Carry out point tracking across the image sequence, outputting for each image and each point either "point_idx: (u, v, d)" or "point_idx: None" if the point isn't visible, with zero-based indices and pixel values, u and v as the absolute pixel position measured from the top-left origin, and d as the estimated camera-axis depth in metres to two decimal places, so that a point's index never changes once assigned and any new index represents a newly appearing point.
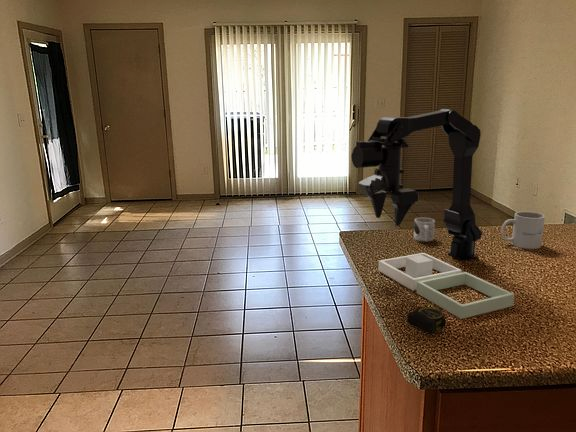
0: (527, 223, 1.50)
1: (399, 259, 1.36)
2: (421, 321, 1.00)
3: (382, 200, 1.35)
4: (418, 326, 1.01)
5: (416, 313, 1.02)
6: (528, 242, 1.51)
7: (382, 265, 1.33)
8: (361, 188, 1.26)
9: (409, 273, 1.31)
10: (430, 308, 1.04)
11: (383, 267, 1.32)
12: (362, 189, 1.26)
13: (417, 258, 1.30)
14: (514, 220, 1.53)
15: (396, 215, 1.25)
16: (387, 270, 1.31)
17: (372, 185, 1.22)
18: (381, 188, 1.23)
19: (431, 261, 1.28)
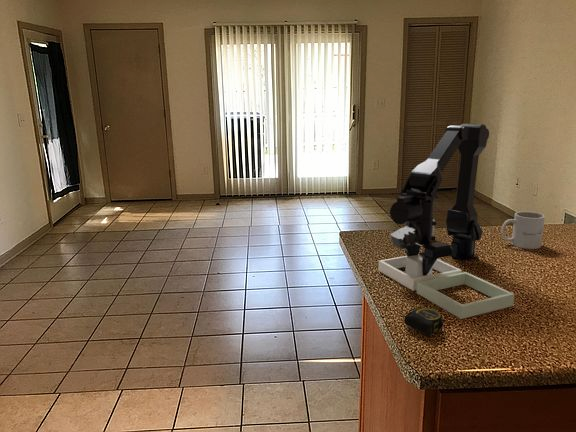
0: (527, 223, 1.50)
1: (399, 259, 1.36)
2: (418, 322, 0.99)
3: (416, 251, 1.33)
4: (415, 327, 1.00)
5: (413, 314, 1.01)
6: (528, 242, 1.51)
7: (382, 265, 1.33)
8: (393, 240, 1.26)
9: (409, 273, 1.31)
10: (428, 309, 1.03)
11: (383, 267, 1.32)
12: (394, 241, 1.26)
13: (417, 258, 1.30)
14: (514, 220, 1.53)
15: (424, 265, 1.27)
16: (387, 270, 1.31)
17: (405, 239, 1.22)
18: (414, 242, 1.22)
19: None
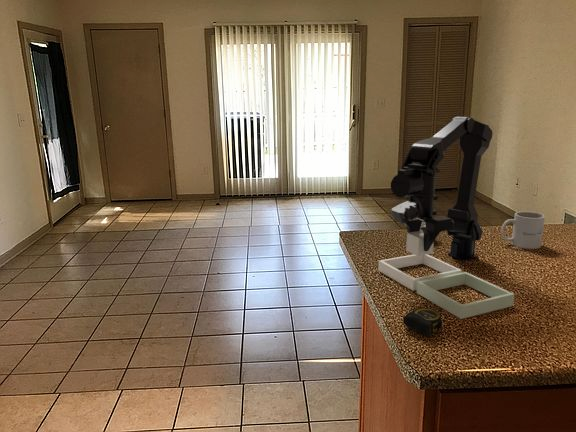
0: (527, 223, 1.50)
1: (399, 259, 1.36)
2: (417, 323, 0.99)
3: (417, 227, 1.31)
4: (414, 328, 1.00)
5: (412, 314, 1.01)
6: (528, 242, 1.51)
7: (382, 265, 1.33)
8: (394, 215, 1.24)
9: (410, 249, 1.29)
10: (427, 309, 1.03)
11: (383, 267, 1.32)
12: (395, 216, 1.24)
13: (418, 233, 1.28)
14: (514, 220, 1.53)
15: (425, 241, 1.25)
16: (387, 270, 1.31)
17: (406, 213, 1.20)
18: (415, 216, 1.21)
19: None
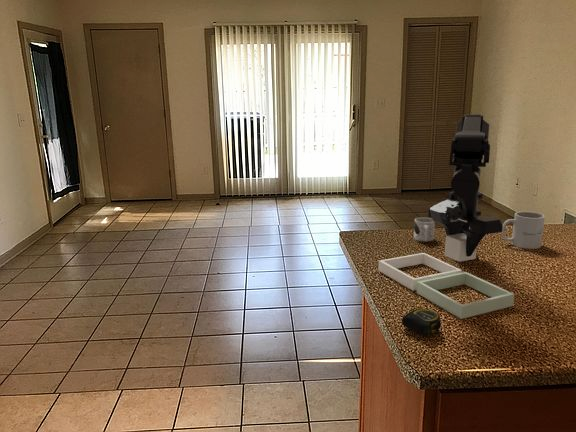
0: (527, 223, 1.50)
1: (399, 259, 1.36)
2: (416, 324, 0.99)
3: (457, 229, 1.16)
4: (413, 328, 1.00)
5: (411, 315, 1.01)
6: (528, 242, 1.51)
7: (382, 265, 1.33)
8: (433, 215, 1.10)
9: (449, 254, 1.14)
10: (425, 310, 1.03)
11: (383, 267, 1.32)
12: (434, 216, 1.10)
13: (459, 236, 1.14)
14: (514, 220, 1.53)
15: (468, 244, 1.10)
16: (387, 270, 1.31)
17: (448, 212, 1.06)
18: (459, 216, 1.06)
19: None
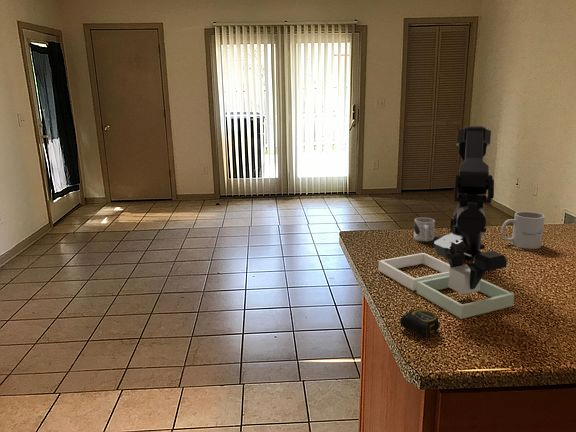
0: (527, 223, 1.50)
1: (399, 259, 1.36)
2: (414, 324, 0.98)
3: (461, 261, 1.17)
4: (411, 329, 0.99)
5: (409, 316, 1.01)
6: (528, 242, 1.51)
7: (382, 265, 1.33)
8: (437, 249, 1.10)
9: (453, 286, 1.15)
10: (424, 311, 1.02)
11: (383, 267, 1.32)
12: (439, 251, 1.10)
13: (463, 269, 1.14)
14: (514, 220, 1.53)
15: (472, 278, 1.11)
16: (387, 270, 1.31)
17: (453, 248, 1.06)
18: (463, 251, 1.07)
19: None
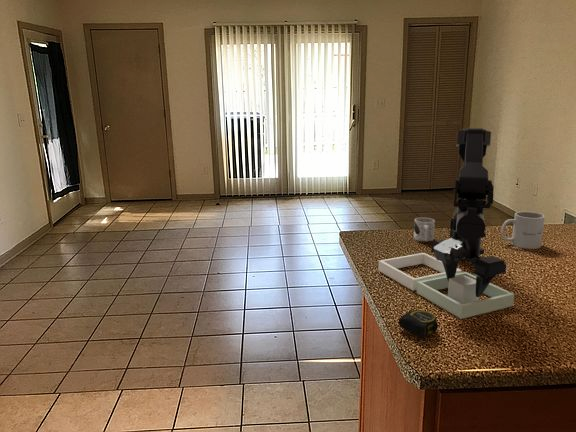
0: (527, 223, 1.50)
1: (399, 259, 1.36)
2: (412, 325, 0.98)
3: (455, 263, 1.19)
4: (410, 330, 0.99)
5: (408, 316, 1.00)
6: (528, 242, 1.51)
7: (382, 265, 1.33)
8: (437, 254, 1.11)
9: (452, 297, 1.15)
10: (422, 311, 1.02)
11: (383, 267, 1.32)
12: (438, 256, 1.10)
13: (462, 280, 1.15)
14: (514, 220, 1.53)
15: (478, 286, 1.09)
16: (387, 270, 1.31)
17: (452, 253, 1.07)
18: (463, 257, 1.07)
19: None
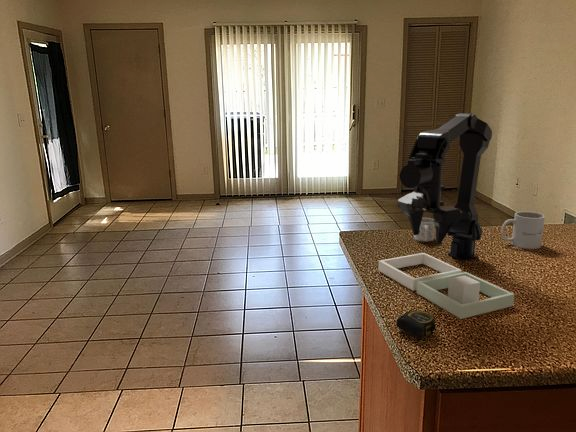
0: (527, 223, 1.50)
1: (399, 259, 1.36)
2: (410, 326, 0.98)
3: (419, 216, 1.30)
4: (407, 330, 0.99)
5: (405, 317, 1.00)
6: (528, 242, 1.51)
7: (382, 265, 1.33)
8: (401, 206, 1.22)
9: (452, 297, 1.15)
10: (420, 312, 1.02)
11: (383, 267, 1.32)
12: (402, 207, 1.22)
13: (462, 280, 1.15)
14: (514, 220, 1.53)
15: (437, 234, 1.21)
16: (387, 270, 1.31)
17: (414, 203, 1.18)
18: (423, 206, 1.18)
19: (478, 283, 1.13)
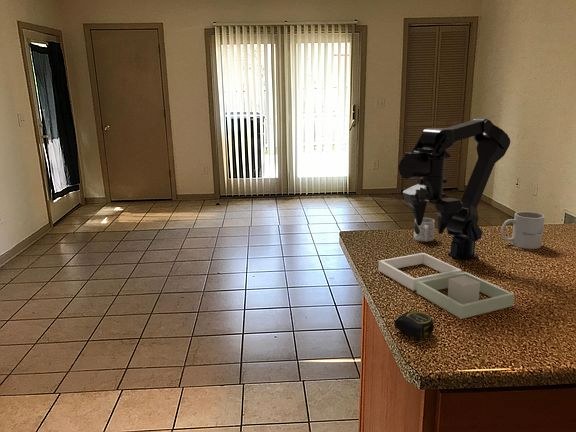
0: (527, 223, 1.50)
1: (399, 259, 1.36)
2: (408, 326, 0.98)
3: (423, 208, 1.39)
4: (406, 331, 0.99)
5: (404, 318, 1.00)
6: (528, 242, 1.51)
7: (382, 265, 1.33)
8: (405, 197, 1.31)
9: (452, 297, 1.15)
10: (418, 312, 1.02)
11: (383, 267, 1.32)
12: (406, 198, 1.30)
13: (462, 280, 1.15)
14: (514, 220, 1.53)
15: (439, 223, 1.29)
16: (387, 270, 1.31)
17: (417, 194, 1.27)
18: (426, 197, 1.27)
19: (478, 283, 1.13)
